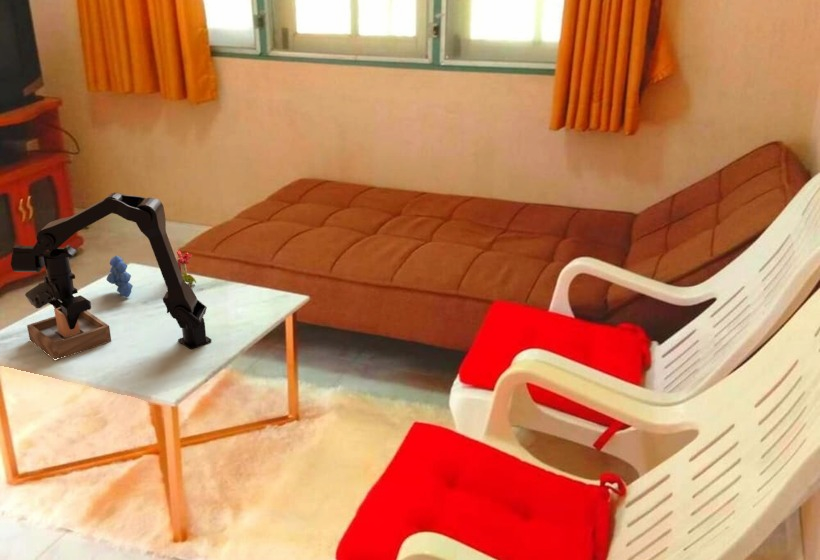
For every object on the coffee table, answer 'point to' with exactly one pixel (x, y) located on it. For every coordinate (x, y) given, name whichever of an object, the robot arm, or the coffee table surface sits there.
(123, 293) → the grapes
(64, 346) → the socket box
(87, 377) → the coffee table surface
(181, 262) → the bird rattle
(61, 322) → the peg
